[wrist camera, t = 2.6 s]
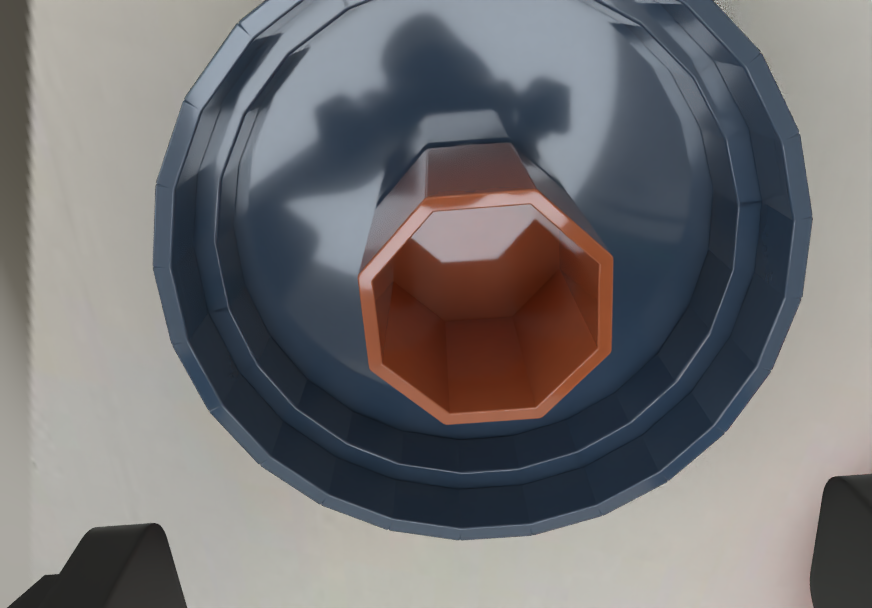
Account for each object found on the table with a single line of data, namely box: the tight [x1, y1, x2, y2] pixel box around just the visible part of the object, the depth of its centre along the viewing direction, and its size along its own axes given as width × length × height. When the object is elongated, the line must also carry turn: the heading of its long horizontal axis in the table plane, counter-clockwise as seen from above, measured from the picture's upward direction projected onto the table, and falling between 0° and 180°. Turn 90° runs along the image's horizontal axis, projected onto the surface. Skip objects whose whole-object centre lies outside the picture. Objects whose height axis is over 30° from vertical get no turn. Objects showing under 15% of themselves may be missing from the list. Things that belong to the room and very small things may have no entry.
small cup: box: [357, 142, 614, 425], centre depth 20 cm, size 6×6×6 cm
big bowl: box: [153, 0, 813, 540], centre depth 21 cm, size 17×17×4 cm
